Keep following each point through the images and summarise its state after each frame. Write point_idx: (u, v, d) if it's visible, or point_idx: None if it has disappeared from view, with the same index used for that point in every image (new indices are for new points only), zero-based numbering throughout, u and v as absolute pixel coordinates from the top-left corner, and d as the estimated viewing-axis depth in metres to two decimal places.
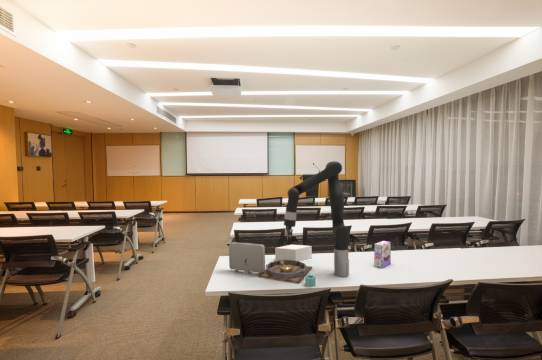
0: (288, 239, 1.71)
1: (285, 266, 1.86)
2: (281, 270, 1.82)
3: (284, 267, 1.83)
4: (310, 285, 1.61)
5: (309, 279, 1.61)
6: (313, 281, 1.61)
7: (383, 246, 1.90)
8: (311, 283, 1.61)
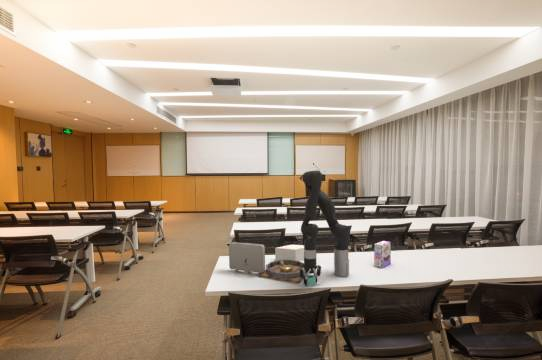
0: None
1: (285, 266, 1.86)
2: (281, 270, 1.82)
3: (284, 267, 1.83)
4: (310, 285, 1.61)
5: (309, 279, 1.61)
6: (313, 281, 1.61)
7: (383, 246, 1.90)
8: (311, 283, 1.61)
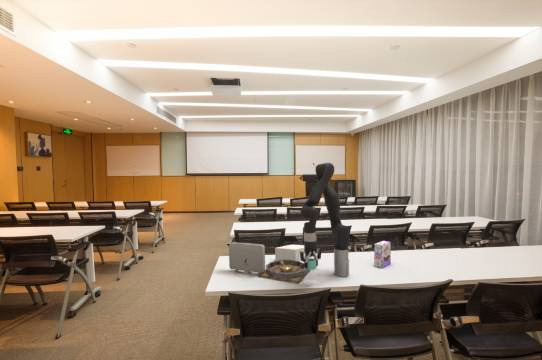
0: (317, 260, 1.64)
1: (285, 266, 1.86)
2: (281, 270, 1.82)
3: (284, 267, 1.83)
4: (311, 268, 1.60)
5: (310, 262, 1.60)
6: (314, 264, 1.60)
7: (383, 246, 1.90)
8: (312, 266, 1.60)
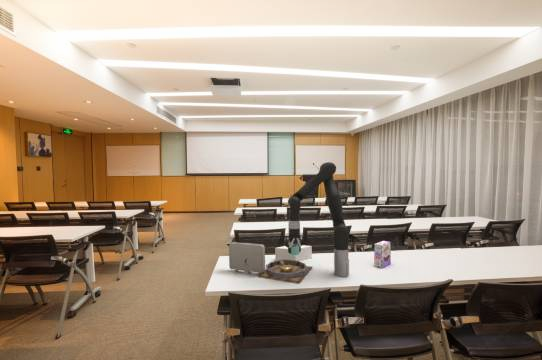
0: (300, 246, 1.78)
1: (285, 266, 1.86)
2: (281, 270, 1.82)
3: (284, 267, 1.83)
4: (294, 253, 1.74)
5: (293, 248, 1.74)
6: (297, 250, 1.74)
7: (383, 246, 1.90)
8: (295, 251, 1.74)
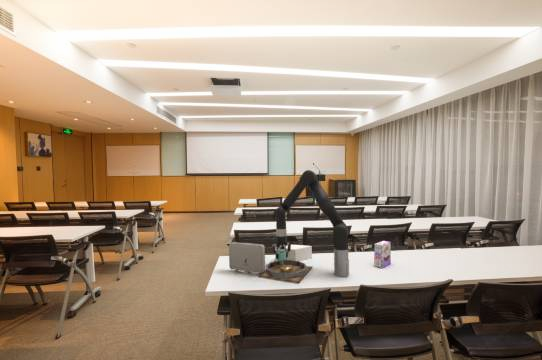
0: (287, 252, 1.93)
1: (285, 266, 1.86)
2: (281, 270, 1.82)
3: (284, 267, 1.83)
4: (281, 259, 1.89)
5: (280, 254, 1.89)
6: (283, 255, 1.89)
7: (383, 246, 1.90)
8: (282, 257, 1.89)
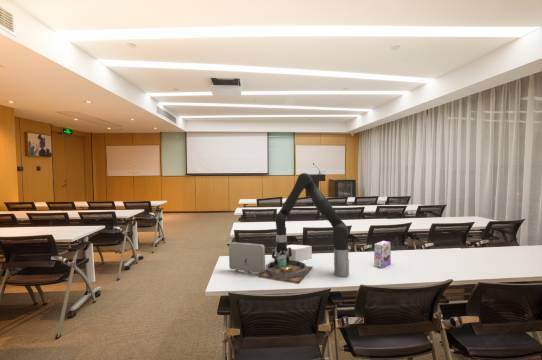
0: None
1: (285, 266, 1.86)
2: (281, 270, 1.82)
3: (284, 267, 1.83)
4: None
5: (280, 262, 1.89)
6: (284, 263, 1.89)
7: (383, 246, 1.90)
8: (282, 265, 1.89)
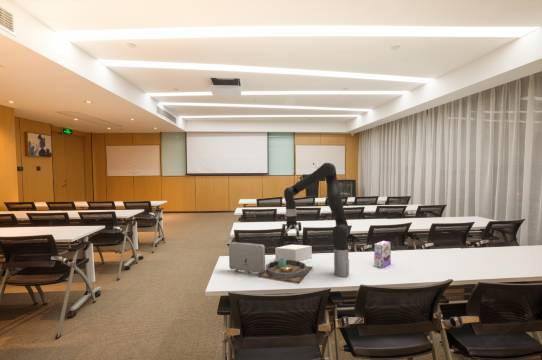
0: None
1: (285, 266, 1.86)
2: (281, 270, 1.82)
3: (284, 267, 1.83)
4: None
5: (280, 262, 1.89)
6: (284, 263, 1.89)
7: (383, 246, 1.90)
8: (282, 265, 1.89)
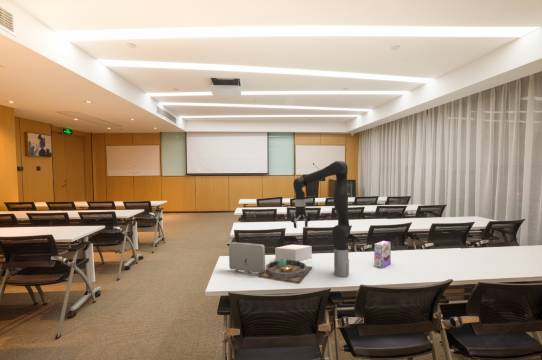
0: (307, 222, 1.98)
1: (285, 266, 1.86)
2: (281, 270, 1.82)
3: (284, 267, 1.83)
4: None
5: (280, 262, 1.89)
6: (284, 263, 1.89)
7: (383, 246, 1.90)
8: (282, 265, 1.89)
